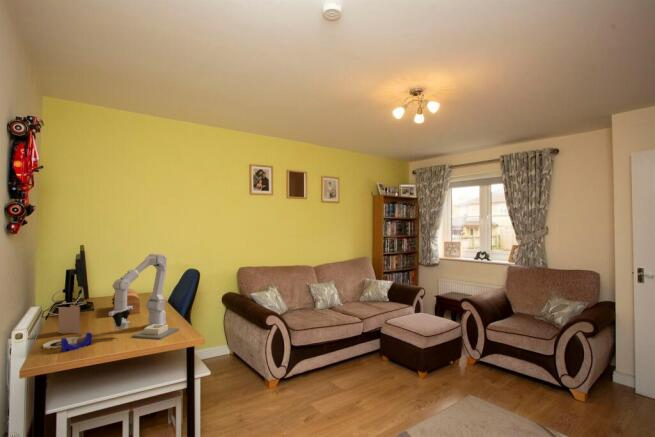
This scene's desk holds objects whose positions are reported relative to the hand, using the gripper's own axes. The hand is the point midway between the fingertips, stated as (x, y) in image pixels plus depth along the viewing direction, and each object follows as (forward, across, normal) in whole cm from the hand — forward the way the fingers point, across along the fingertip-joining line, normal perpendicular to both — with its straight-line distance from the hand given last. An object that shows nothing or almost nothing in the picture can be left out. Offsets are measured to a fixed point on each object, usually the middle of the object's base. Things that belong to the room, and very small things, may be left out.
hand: (121, 325), depth 184 cm
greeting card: (+6, 0, -35) cm, 36 cm away
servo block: (+2, 0, 0) cm, 2 cm away
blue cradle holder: (+6, +19, -8) cm, 21 cm away
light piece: (+7, +14, -20) cm, 25 cm away
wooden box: (+7, -49, -43) cm, 66 cm away
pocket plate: (+6, -8, +16) cm, 19 cm away
